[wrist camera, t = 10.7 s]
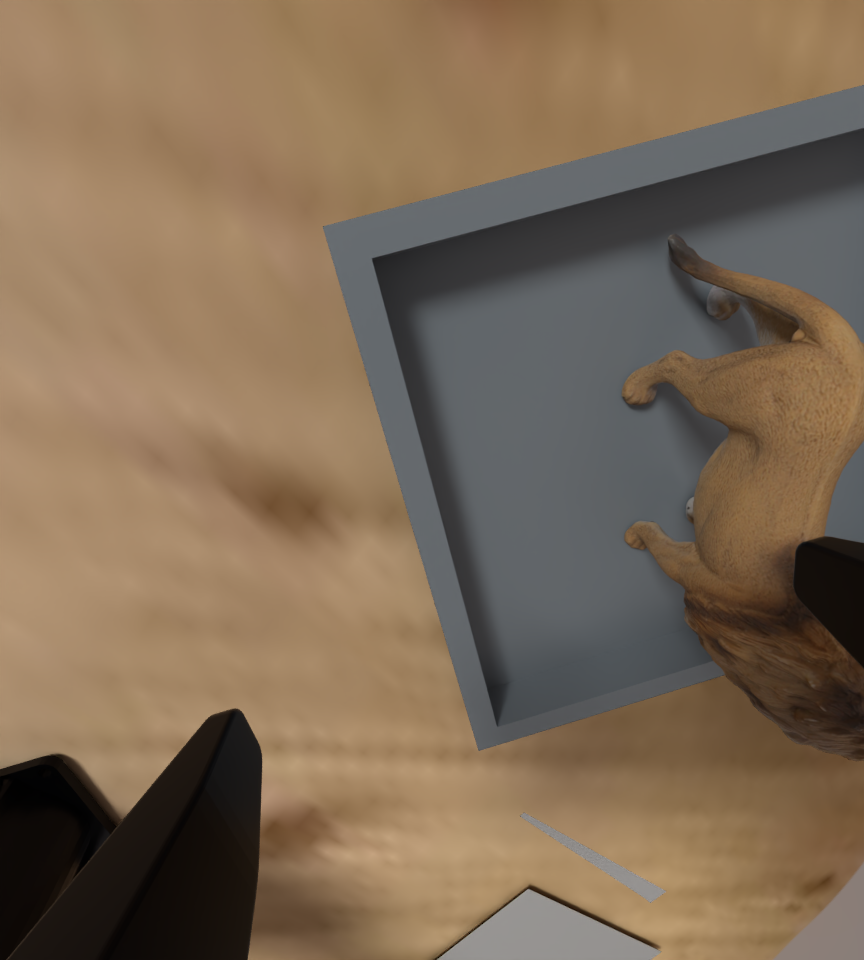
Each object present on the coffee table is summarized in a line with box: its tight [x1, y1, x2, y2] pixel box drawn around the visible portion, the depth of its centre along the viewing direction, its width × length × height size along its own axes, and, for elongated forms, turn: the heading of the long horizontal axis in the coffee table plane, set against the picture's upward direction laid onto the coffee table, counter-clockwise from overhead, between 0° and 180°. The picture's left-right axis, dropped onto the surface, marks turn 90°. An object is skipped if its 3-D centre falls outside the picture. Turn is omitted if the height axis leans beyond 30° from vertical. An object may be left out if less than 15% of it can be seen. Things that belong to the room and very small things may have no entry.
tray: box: [323, 85, 864, 751], centre depth 18 cm, size 20×20×2 cm
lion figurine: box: [622, 234, 864, 761], centre depth 15 cm, size 15×5×9 cm, turn 16°
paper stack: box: [437, 813, 666, 960], centre depth 30 cm, size 23×25×1 cm
